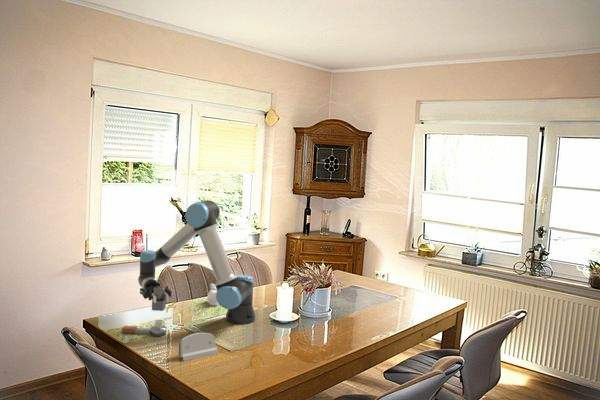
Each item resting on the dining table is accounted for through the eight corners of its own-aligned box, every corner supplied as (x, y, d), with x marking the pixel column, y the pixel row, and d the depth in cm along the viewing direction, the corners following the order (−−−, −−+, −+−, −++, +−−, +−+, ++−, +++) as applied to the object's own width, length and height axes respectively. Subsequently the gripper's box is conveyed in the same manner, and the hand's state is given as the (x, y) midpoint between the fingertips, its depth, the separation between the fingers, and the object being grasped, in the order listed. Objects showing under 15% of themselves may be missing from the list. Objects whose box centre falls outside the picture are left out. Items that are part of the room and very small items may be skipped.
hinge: (183, 361, 216) (180, 336, 217) (178, 361, 219) (175, 336, 221) (219, 353, 226) (216, 329, 228) (214, 353, 229) (211, 330, 231)
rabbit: (226, 305, 295) (227, 284, 294) (212, 308, 288) (213, 286, 287) (213, 299, 303) (214, 279, 302) (200, 302, 297) (200, 281, 296)
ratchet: (167, 331, 248) (168, 318, 248) (163, 337, 241) (164, 323, 241) (125, 329, 248) (125, 316, 248) (120, 334, 241) (120, 321, 241)
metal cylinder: (165, 307, 246) (166, 286, 245) (162, 310, 241) (163, 289, 240) (154, 307, 246) (155, 286, 245) (151, 310, 241) (152, 289, 240)
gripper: (169, 292, 264) (181, 305, 243) (132, 295, 255) (141, 309, 235) (169, 277, 263) (181, 289, 242) (132, 280, 255) (141, 293, 234)
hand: (161, 299), depth 239 cm, fingers closed on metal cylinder, 5 cm apart
